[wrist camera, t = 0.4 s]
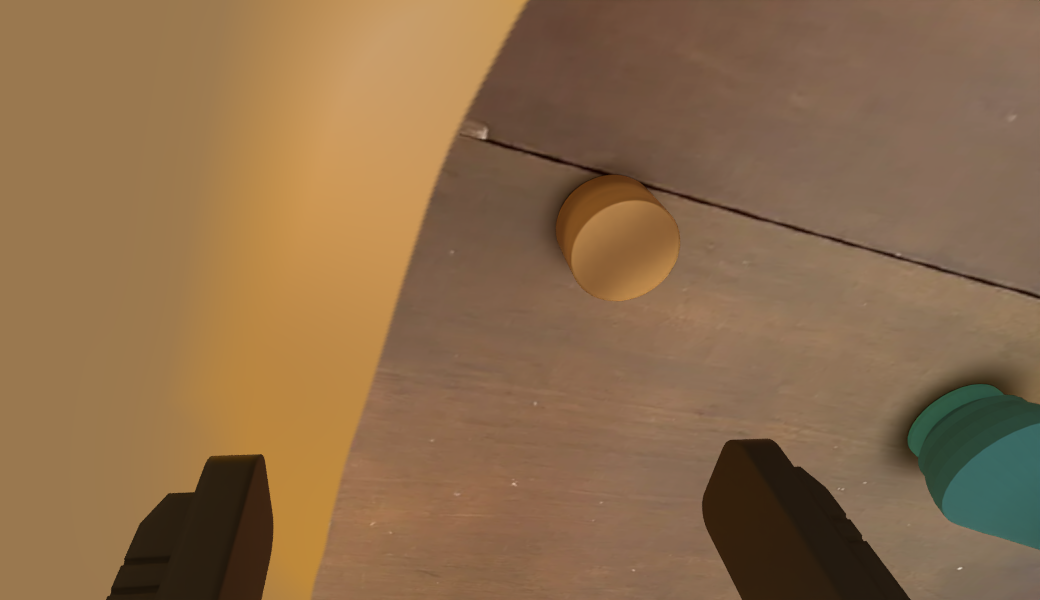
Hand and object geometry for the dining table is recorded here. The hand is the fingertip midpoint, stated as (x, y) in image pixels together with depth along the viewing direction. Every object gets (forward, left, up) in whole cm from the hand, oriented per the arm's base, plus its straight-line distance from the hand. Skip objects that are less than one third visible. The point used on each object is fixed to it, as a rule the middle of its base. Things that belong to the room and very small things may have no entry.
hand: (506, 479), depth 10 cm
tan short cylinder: (+7, +4, -17) cm, 19 cm away
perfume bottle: (+35, +16, -17) cm, 42 cm away
